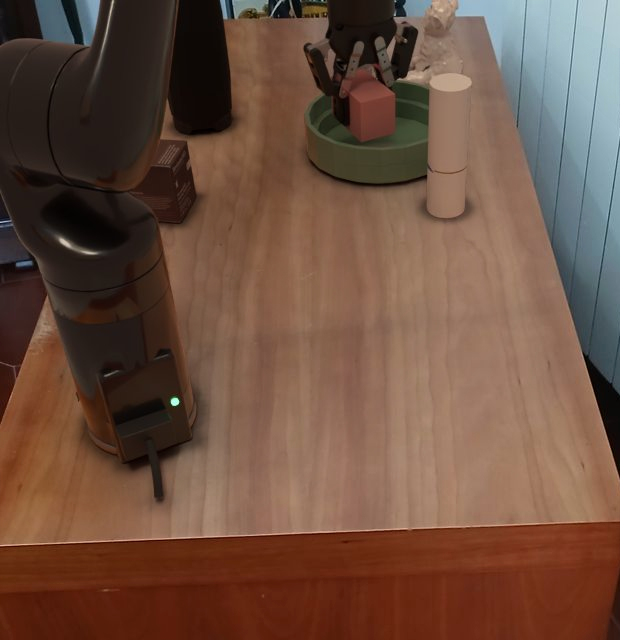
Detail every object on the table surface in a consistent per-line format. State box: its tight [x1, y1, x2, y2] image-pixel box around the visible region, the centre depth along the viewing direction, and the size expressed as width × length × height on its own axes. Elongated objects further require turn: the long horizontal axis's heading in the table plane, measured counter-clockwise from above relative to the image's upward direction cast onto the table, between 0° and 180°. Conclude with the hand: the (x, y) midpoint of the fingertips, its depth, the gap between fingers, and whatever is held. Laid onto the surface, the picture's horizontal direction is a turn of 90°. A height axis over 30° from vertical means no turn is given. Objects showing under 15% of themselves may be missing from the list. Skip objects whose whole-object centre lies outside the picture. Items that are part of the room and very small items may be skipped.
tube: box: [426, 73, 473, 219], centre depth 99 cm, size 4×4×15 cm
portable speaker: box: [167, 0, 233, 135], centre depth 116 cm, size 9×9×20 cm
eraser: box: [330, 69, 395, 142], centre depth 110 cm, size 8×4×5 cm, turn 26°
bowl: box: [303, 78, 430, 185], centre depth 113 cm, size 18×18×5 cm
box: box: [128, 138, 197, 224], centre depth 104 cm, size 6×6×7 cm
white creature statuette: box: [398, 0, 465, 87], centre depth 124 cm, size 10×9×12 cm
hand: (363, 117), depth 111 cm, fingers closed on eraser, 4 cm apart
